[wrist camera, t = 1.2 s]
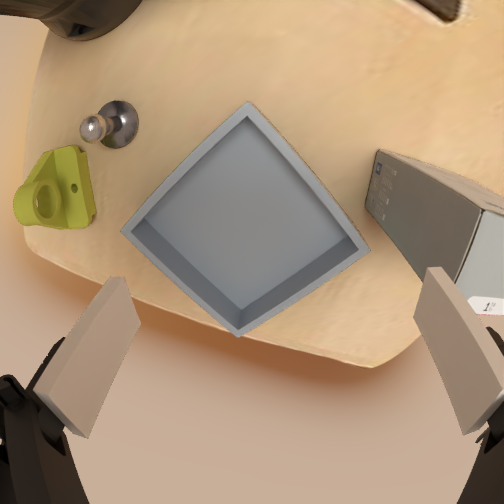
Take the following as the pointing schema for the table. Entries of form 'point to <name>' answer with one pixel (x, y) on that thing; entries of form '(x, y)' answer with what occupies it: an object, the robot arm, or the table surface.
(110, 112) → the ball stud
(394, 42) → the table surface
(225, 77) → the table surface
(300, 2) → the table surface
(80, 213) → the bracket
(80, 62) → the table surface
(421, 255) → the hard drive box
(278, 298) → the bin
